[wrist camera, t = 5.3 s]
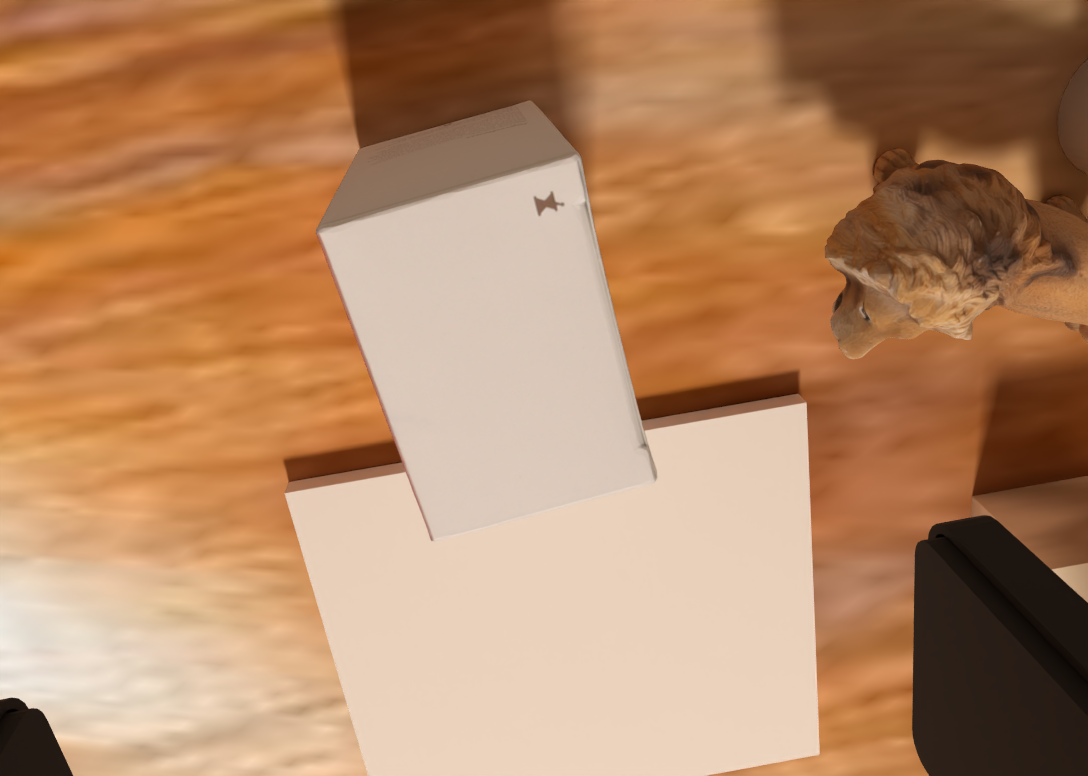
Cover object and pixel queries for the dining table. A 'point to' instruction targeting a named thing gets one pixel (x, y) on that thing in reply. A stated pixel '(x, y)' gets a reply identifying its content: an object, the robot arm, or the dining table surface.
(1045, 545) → the birch block
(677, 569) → the mat
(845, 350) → the lion figurine
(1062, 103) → the light grey domed piece
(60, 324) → the dining table surface
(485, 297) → the small box
